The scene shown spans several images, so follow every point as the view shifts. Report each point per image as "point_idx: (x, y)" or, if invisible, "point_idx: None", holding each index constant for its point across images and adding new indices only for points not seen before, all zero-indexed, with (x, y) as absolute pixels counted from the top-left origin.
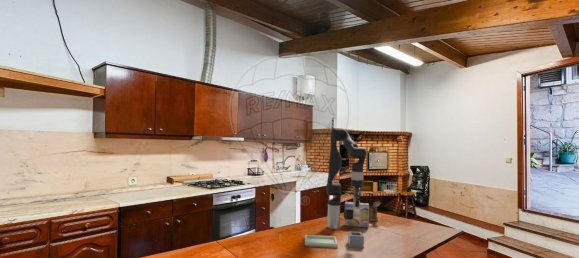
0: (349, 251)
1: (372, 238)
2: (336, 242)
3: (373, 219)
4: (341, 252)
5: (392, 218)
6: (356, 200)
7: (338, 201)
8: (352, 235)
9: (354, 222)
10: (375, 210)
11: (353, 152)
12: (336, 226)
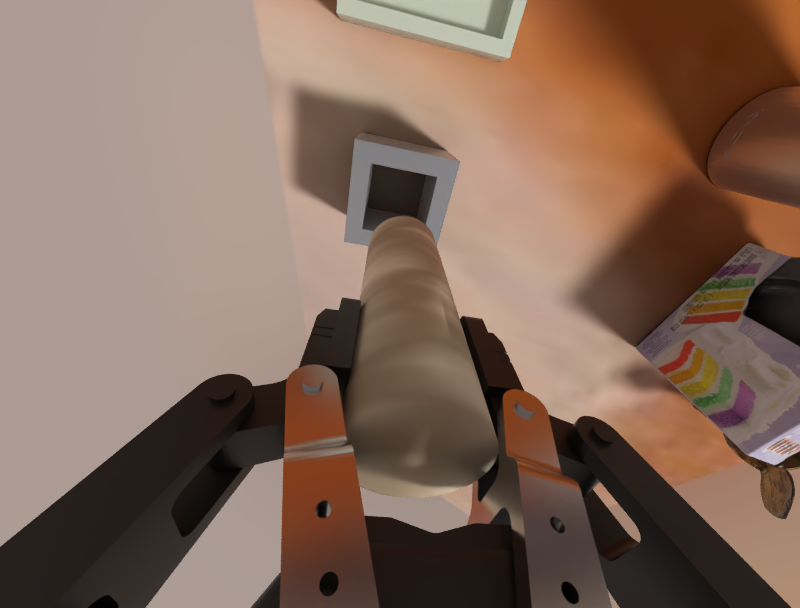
0: (286, 103)
1: (485, 310)
2: (368, 13)
3: None
4: (257, 26)
5: (692, 461)
6: (285, 385)
7: None
8: (361, 163)
9: (714, 301)
10: None
11: None
12: (726, 155)
